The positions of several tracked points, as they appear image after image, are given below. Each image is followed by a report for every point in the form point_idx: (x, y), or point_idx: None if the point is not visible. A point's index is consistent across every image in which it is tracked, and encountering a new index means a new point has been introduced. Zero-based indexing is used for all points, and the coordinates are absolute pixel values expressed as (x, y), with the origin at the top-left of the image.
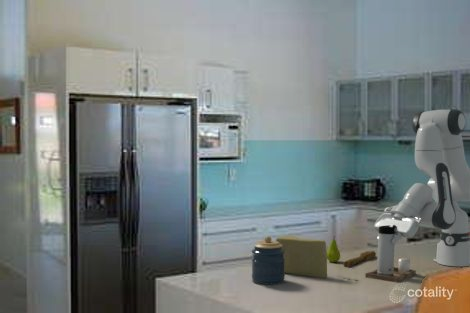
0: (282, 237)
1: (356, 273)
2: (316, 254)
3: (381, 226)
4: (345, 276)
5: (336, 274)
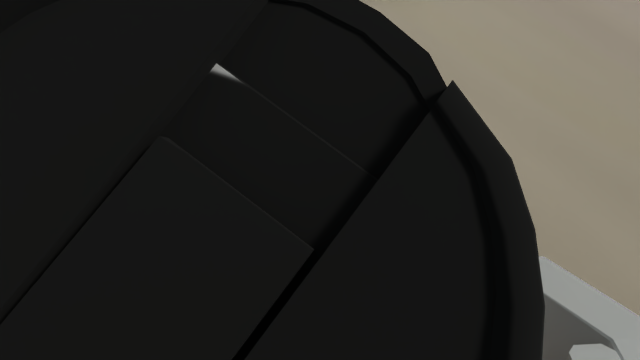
0: None
1: (579, 170)
2: None
3: (488, 222)
4: (517, 35)
5: (603, 11)
